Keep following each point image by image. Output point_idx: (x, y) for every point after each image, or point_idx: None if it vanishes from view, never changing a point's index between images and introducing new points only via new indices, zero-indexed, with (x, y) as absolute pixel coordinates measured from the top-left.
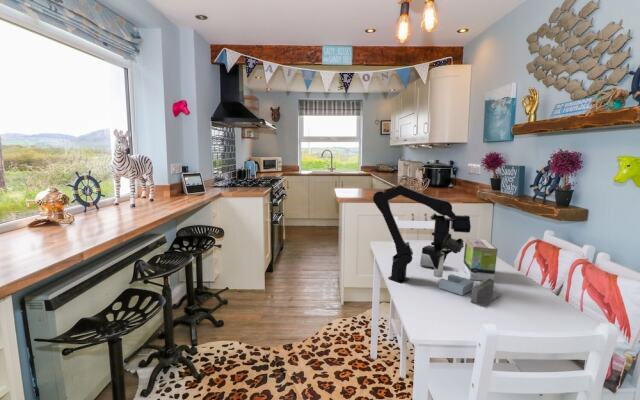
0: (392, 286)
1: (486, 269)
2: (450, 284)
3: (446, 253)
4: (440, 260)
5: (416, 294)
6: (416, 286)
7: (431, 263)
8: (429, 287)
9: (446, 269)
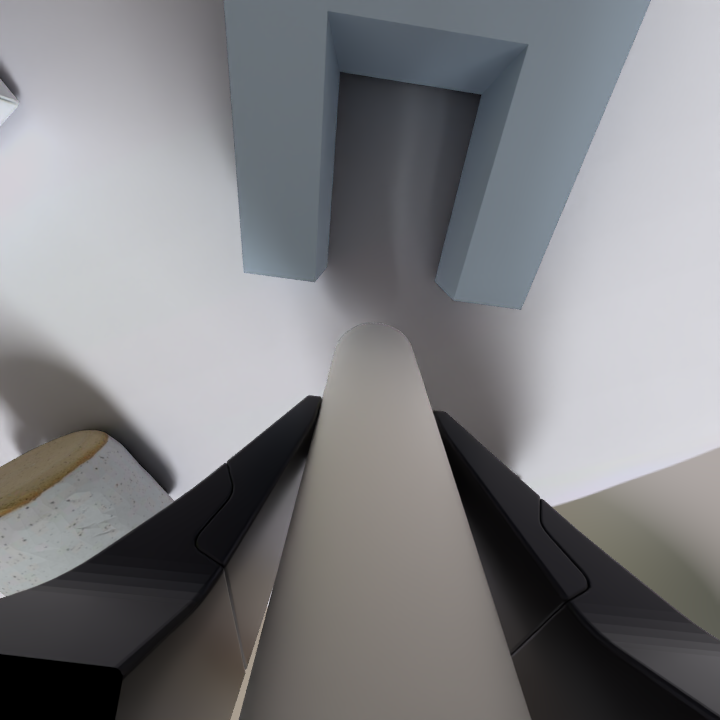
0: (590, 492)
1: None
2: (576, 153)
3: (143, 691)
4: (462, 508)
5: (682, 366)
6: (526, 411)
7: (124, 479)
8: (499, 346)
9: (47, 375)
